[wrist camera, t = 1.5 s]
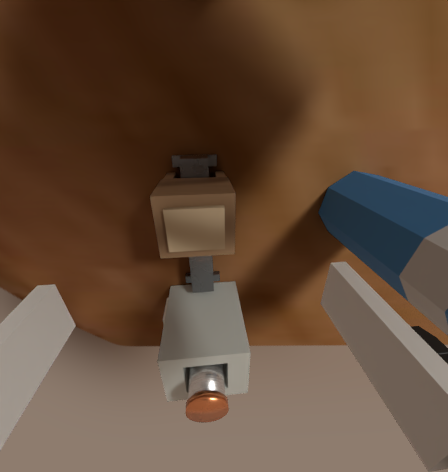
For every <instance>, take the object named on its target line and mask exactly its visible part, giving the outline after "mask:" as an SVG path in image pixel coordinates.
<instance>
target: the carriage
mask: <svg viewBox="0 0 448 472" xmlns="http://www.w3.org/2000/svg"><path fill="white" fill-rule="evenodd" d="M150 201H151V207H152V212H153V218H154V224H155V230H156V235H157V241H158V247H159V253H160V258H161V259H162V258H179V257H195V256H212V255H228V254H235V208H236V193H235V191H234V189H233V186H232V184H231V182H230V180H229V178H228V177H226V176H225V174H224V171H215V177H204V178H176V172H175V173H167V174H166V175H165V177H164V178H163V179H161V180H160V182H159V183H158V185H157V186H156V188H155V189H154V191H153V192H152V194H151V195H150Z"/></svg>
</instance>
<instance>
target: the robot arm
mask: <svg viewBox="0 0 448 472" xmlns="http://www.w3.org/2000/svg"><path fill="white" fill-rule="evenodd" d="M321 305H322V306H323V308H324V309H325V311H326V313H327V314H328V316H329V317H330V319H331V320H332V322H333V323H334V325H335V327H336V328H337V330H338V331H339V333H340V334H341V336H342V338H343V339H344V341H345V342H346V344H347V345H348V347H349V348H350V350H351V352H352V353H353V355H354V356H355V358H356V359H357V361H358V362H359V364H360V366H361V367H362V369H363V370H364V372H365V373H366V375H367V377H368V378H369V380H370V381H371V383H372V384H373V386H374V387H375V389H376V391H377V392H378V394H379V395H380V397H381V398H382V400H383V401H384V403H385V405H386V406H387V408H388V409H389V411H390V412H391V414H392V415H393V417H394V419H395V420H396V422H397V423H398V425H399V426H400V428H401V430H402V431H403V433H404V434H405V436H406V437H407V439H408V441H409V442H410V444H411V445H412V447H413V448H414V450H415V451H416V453H417V454H418V456H419V458H420V459H421V461H422V462H423V464H424V465H425V467H426V469H427V470H428V471H429V472H430V471H436V470H443V469H448V348H447V347H446V346H445V345H444V344H443V343H442V342H440V341H439V340H438V339H437V338H436V337H435V336H433V335H432V334H430V333H429V332H427V331H425V330H424V329H422V328H421V327H419V326H414V327H410V326H409V325H408V324H407V323H406V322H405V321H404V320H403V319H402V318H401V317H400V316H399V315H398V314H397V313H396V312H395V311H394V310H393V309H392V308H391V307H390V306H389V305H388V304H387V303H386V302H385V301H384V300H383V299H382V298H381V297H380V296H379V295H378V294H377V293H376V292H375V291H374V290H373V289H372V288H371V287H370V286H369V285H368V284H367V283H366V282H365V281H364V280H363V279H362V278H361V277H360V276H359V275H358V274H357V273H356V272H355V271H354V270H353V269H352V268H351V267H350V266H349V265H348V264H347V263H346V262H336V263H331V264H330V268H329V272H328V276H327V280H326V284H325V288H324V292H323V296H322V300H321ZM75 326H76V325H75V323H74V321H73V319H72V317H71V315H70V313H69V311H68V309H67V307H66V305H65V303H64V301H63V299H62V298H61V296H60V294H59V292H58V290H57V288H56V286H55V284H53V285H40V286H37V287H36V288H35V289H34V290H33V291H32V292H31V293H30V294H29V295H28V296H27V297H26V298H25V299H24V300H23V301H22V302H21V303H20V304H19V305H18V306H17V307H16V308H15V309H14V310H13V311H12V312H11V313H10V314H9V315H8V316H7V317H6V318H5V319H4V320H3V321H2V323H0V450H1V448H2V447H3V445H4V444H5V442H6V440H7V438H8V437H9V435H10V434H11V432H12V430H13V429H14V427H15V425H16V423H17V422H18V420H19V419H20V417H21V415H22V414H23V412H24V410H25V409H26V407H27V405H28V404H29V402H30V401H31V399H32V397H33V395H34V394H35V392H36V390H37V389H38V387H39V386H40V384H41V382H42V381H43V379H44V377H45V375H46V374H47V372H48V371H49V369H50V367H51V366H52V364H53V362H54V361H55V359H56V357H57V356H58V354H59V353H60V351H61V349H62V348H63V346H64V344H65V343H66V341H67V339H68V338H69V336H70V334H71V333H72V331H73V329H74V328H75Z"/></svg>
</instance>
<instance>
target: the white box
mask: <svg viewBox="0 0 448 472" xmlns="http://www.w3.org/2000/svg"><path fill="white" fill-rule="evenodd" d="M163 324H164V327H163V333H162V338H161V344H160V349H159V355H158V366H159V370H160V374H161V378H162V382H163V386H164V390H165V394H166V398H167V401H177V400H186V399H188V393H189V370H190V367H194V366H204V365H214V364H223V375H224V386H225V395H231V394H239V393H247V392H248V380H249V367H250V348H249V343H248V338H247V334H246V329H245V324H244V320H243V315H242V311H241V306H240V301H239V297H238V292H237V287H236V283H235V281H234V282H220V283H214V291H211V292H198V293H193V292H192V285H178V286H171V288H170V293H169V298H167V300H166V305H165V310H164V316H163Z"/></svg>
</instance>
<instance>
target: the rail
mask: <svg viewBox="0 0 448 472" xmlns="http://www.w3.org/2000/svg"><path fill="white" fill-rule="evenodd" d="M172 164H173V167H180V174H181V178H204V177H209V166H217V155H216V154H202V155H172ZM189 263H190V273H186V283H192V292H193V293H198V292H211V291H214V283H213V281H220V275H219V271H215V272H213V260H212V256H195V257H189Z"/></svg>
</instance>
